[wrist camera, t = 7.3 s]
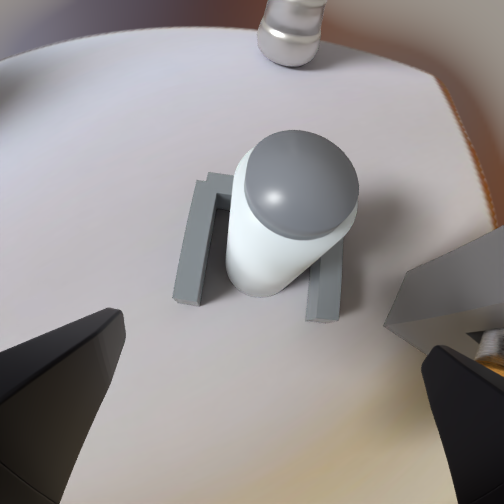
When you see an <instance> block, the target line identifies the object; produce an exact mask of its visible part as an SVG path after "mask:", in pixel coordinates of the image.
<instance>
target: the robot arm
mask: <svg viewBox="0 0 504 504" xmlns="http://www.w3.org/2000/svg"><path fill="white" fill-rule="evenodd" d="M125 338H126V331H125V324H124V317H123V313H122V311H121V310H118V309H114V308H106V309H103V310H101V311H98V312H96V313H93V314H91V315H89V316H86V317H84V318H81V319H79V320H77V321H74V322H72V323H69V324H67V325H65V326H62V327H60V328H57V329H55V330H52V331H50V332H48V333H45V334H43V335H40V336H38V337H36V338H33V339H31V340H28V341H26V342H24V343H21V344H19V345H16V346H14V347H12V348H9V349H7V350H4V351H2V352H0V504H60V501H61V498H62V495H63V493H64V490H65V488H66V485H67V482H68V480H69V477H70V475H71V472H72V470H73V467H74V465H75V462H76V460H77V458H78V455H79V453H80V450H81V448H82V446H83V443H84V441H85V439H86V436H87V434H88V432H89V430H90V427H91V425H92V423H93V421H94V418H95V416H96V414H97V412H98V410H99V408H100V405H101V403H102V401H103V399H104V397H105V395H106V393H107V390H108V388H109V386H110V384H111V381H112V378H113V375H114V372H115V369H116V366H117V363H118V360H119V357H120V354H121V351H122V349H123V346H124V343H125ZM421 372H422V376H423V380H424V383H425V387H426V391H427V395H428V399H429V403H430V407H431V410H432V413H433V416H434V419H435V422H436V425H437V428H438V431H439V435H440V438H441V441H442V444H443V448H444V451H445V454H446V458H447V461H448V465H449V469H450V472H451V476H452V480H453V484H454V488H455V492H456V497H457V501H458V504H504V377H503V376H501V375H499V374H498V373H496V372H494V371H492V370H490V369H489V368H487V367H485V366H483V365H481V364H479V363H478V362H476V361H474V360H472V359H470V358H469V357H467V356H465V355H463V354H461V353H459V352H458V351H456V350H454V349H452V348H450V347H448V346H446V345H435V346H434V347H433V348H432V350H431V351H430V353H429V354H428V356H427V357H426V359H425V360H424V361H423V363H422V367H421Z"/></svg>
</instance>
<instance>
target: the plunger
mask: <svg viewBox="0 0 504 504" xmlns="http://www.w3.org/2000/svg"><path fill="white" fill-rule="evenodd" d="M474 361H476V362H478V363H479V364H481V365H483V366H485V367H487V368H489V369H490V370H492V371H494V372H496V373H498V374H499V375H501V376H503V377H504V327H503V328H497V329H491V330H484V332H483V335H482V338H481V341H480V344H479V347H478V350H477V353H476V356H475V359H474Z"/></svg>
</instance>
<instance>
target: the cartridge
mask: <svg viewBox="0 0 504 504" xmlns="http://www.w3.org/2000/svg"><path fill="white" fill-rule="evenodd" d="M358 195H359V183H358V178H357V174H356V171H355V169H354V167H353V165H352V163H351V161H350V160H349V158H348V157H347V156H346V155H345V153H344V152H343V151H342V150H341V149H340V148H339V147H337V146H336V145H335V144H334V143H332V142H331V141H329V140H328V139H326V138H324V137H322V136H319V135H317V134H314V133H311V132H306V131H300V130H287V131H281V132H277V133H274V134H272V135H270V136H268V137H266V138H264V139H263V140H262V141H261V142H259V143H258V144H257V145H256V146H255V147H254V148H252V149H251V150H250V151H249V152H247V154H246V155H245V156H244V157H243V158H242V160H241V161H240V162H239V164H238V166H237V168H236V171H235V175H234V179H233V188H232V198H231V208H230V218H229V228H228V239H227V250H226V261H225V264H226V272H227V275H228V277H229V279H230V281H231V282H232V284H233V285H234V286H235V287H236V288H237V289H238V290H239V291H241V292H242V293H244V294H246V295H249V296H252V297H258V298H262V297H269V296H272V295H275V294H277V293H278V292H280V291H281V290H282V289H284V288H285V287H286V286H287V285H288V284H289V283H291V282H292V281H293V280H294V279H295V278H297V277H298V276H299V275H300V274H301V273H302V272H304V271H305V270H306V269H307V268H308V267H309V266H311V265H312V264H313V263H314V262H315V261H316V260H318V259H319V258H320V257H321V256H322V255H323V254H325V253H326V252H327V251H328V250H329V249H330V248H331V247H332V246H334V245H335V244H336V243H337V242H338V241H339V240H340V239H342V238H343V237H344V236H345V235H346V233H347V232H348V231H349V230H350V228H351V226H352V225H353V223H354V220H355V217H356V214H357V208H358Z"/></svg>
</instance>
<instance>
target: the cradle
mask: <svg viewBox="0 0 504 504" xmlns="http://www.w3.org/2000/svg"><path fill="white" fill-rule="evenodd" d="M233 179H234V176H232V175H226V174H219V173H211V172H208V176H207V180H206V181H200V180H197V181H196V186H195V190H194V194H193V198H192V203H191V207H190V212H189V216H188V221H187V225H186V230H185V235H184V239H183V244H182V249H181V254H180V259H179V264H178V270H177V275H176V280H175V286H174V291H173V297H172V298H173V299H174V300H175V301H177V302H178V303H182V304H187V305H193V306H199V307H200V301H201V295H202V289H203V283H204V277H205V271H206V265H207V259H208V254H209V248H210V242H211V237H212V231H213V226H214V221H215V215H216V210H217V208H218V209H224V210H230V208H231V198H232V188H233ZM342 260H343V238H342V239H340V240H339V241H338V242H337V243H336V244H335V245H334V246H332V247H331V248H330V249H329V250H328V251H327V252H326V253H325V254H323V255H322V256H321V257H320V258H319V259H318V260H316V261H315V262H314V263H313V264H312V265H311V266H310V278H309V289H308V300H307V310H306V320H305V321H310V322H319V323H329V322H334V321H339V309H340V295H341V280H342Z"/></svg>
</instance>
